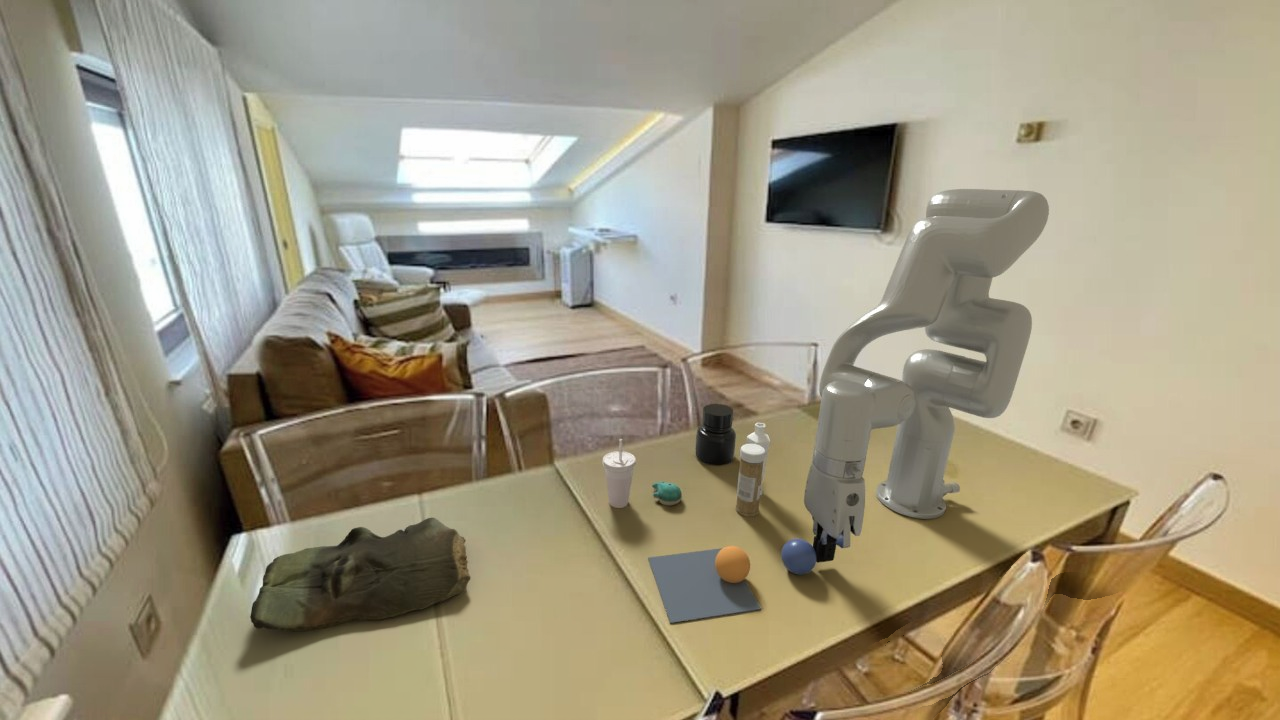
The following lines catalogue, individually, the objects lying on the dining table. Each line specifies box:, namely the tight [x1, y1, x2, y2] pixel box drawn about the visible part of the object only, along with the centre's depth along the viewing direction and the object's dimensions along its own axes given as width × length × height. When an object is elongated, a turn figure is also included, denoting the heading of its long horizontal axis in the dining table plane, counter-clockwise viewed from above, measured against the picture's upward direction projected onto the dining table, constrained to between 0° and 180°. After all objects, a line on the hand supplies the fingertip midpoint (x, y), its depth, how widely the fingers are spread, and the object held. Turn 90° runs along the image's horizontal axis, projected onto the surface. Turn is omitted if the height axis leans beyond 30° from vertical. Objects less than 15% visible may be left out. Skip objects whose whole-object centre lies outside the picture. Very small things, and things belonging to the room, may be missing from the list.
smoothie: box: [602, 438, 637, 509], centre depth 101 cm, size 6×6×14 cm
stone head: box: [249, 517, 472, 632], centre depth 82 cm, size 19×8×28 cm
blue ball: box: [780, 537, 817, 576], centre depth 85 cm, size 6×6×6 cm
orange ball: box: [715, 545, 751, 583], centre depth 83 cm, size 6×6×6 cm
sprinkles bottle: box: [735, 443, 765, 517], centre depth 100 cm, size 5×5×13 cm
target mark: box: [647, 547, 762, 624], centre depth 83 cm, size 14×14×1 cm
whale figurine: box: [651, 480, 683, 506], centre depth 105 cm, size 6×7×4 cm
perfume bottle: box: [746, 422, 771, 496], centre depth 106 cm, size 5×4×15 cm
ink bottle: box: [695, 403, 737, 466], centre depth 120 cm, size 10×9×12 cm
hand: (822, 558), depth 87 cm, fingers closed
